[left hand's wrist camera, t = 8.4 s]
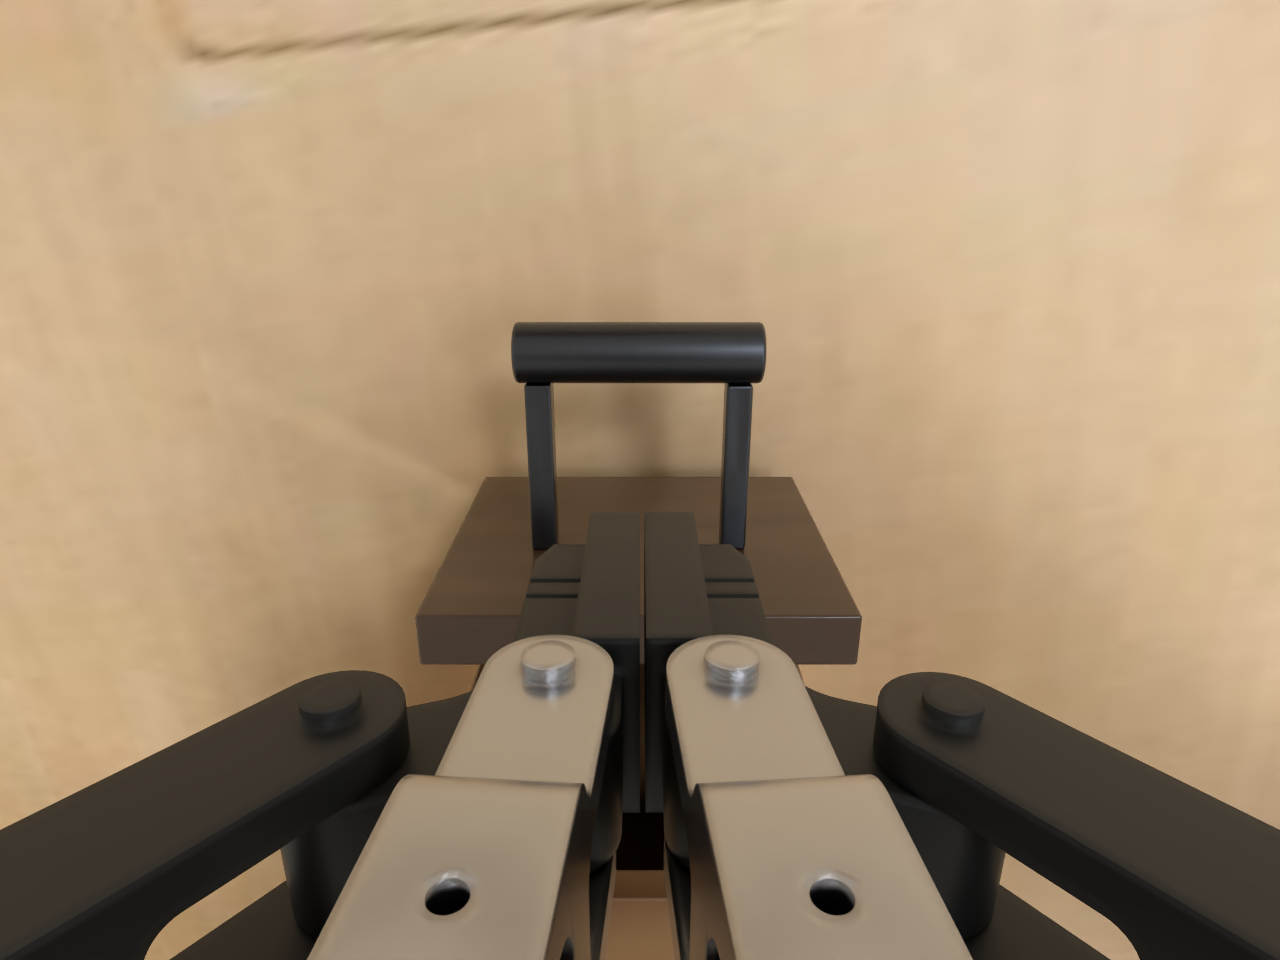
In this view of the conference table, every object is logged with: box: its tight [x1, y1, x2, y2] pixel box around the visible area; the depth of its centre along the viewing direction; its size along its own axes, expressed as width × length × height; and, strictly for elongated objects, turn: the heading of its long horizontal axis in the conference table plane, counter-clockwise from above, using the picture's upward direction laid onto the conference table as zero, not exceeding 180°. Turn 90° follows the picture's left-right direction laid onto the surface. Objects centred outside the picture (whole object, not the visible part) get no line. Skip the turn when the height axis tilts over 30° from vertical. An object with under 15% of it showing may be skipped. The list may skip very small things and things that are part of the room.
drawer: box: [415, 322, 862, 870], centre depth 23 cm, size 25×9×8 cm, turn 0°
